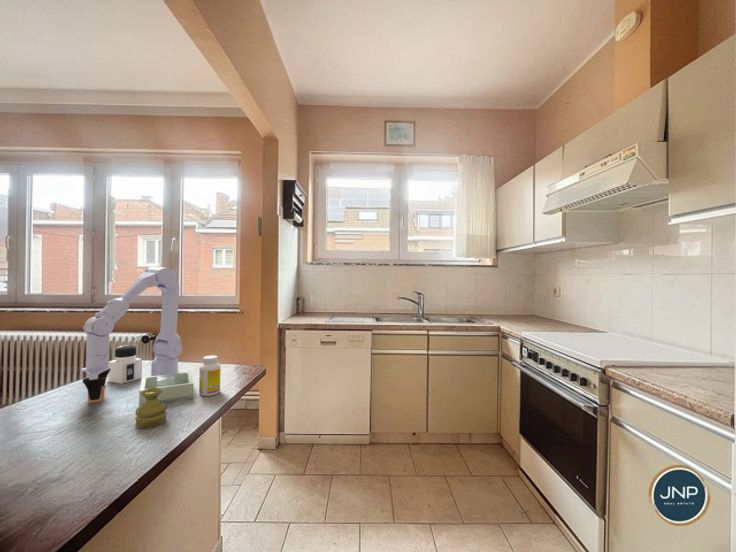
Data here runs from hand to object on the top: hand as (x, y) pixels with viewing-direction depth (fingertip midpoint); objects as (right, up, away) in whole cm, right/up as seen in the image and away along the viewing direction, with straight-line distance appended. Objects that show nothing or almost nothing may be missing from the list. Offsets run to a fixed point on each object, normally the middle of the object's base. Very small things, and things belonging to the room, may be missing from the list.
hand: (96, 395), depth 107 cm
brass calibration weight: (+28, -3, -15) cm, 31 cm away
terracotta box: (0, -2, 0) cm, 2 cm away
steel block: (+19, -1, +6) cm, 20 cm away
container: (-6, -2, +20) cm, 21 cm away
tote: (+19, -2, +6) cm, 20 cm away
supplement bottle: (+33, -3, +8) cm, 34 cm away
